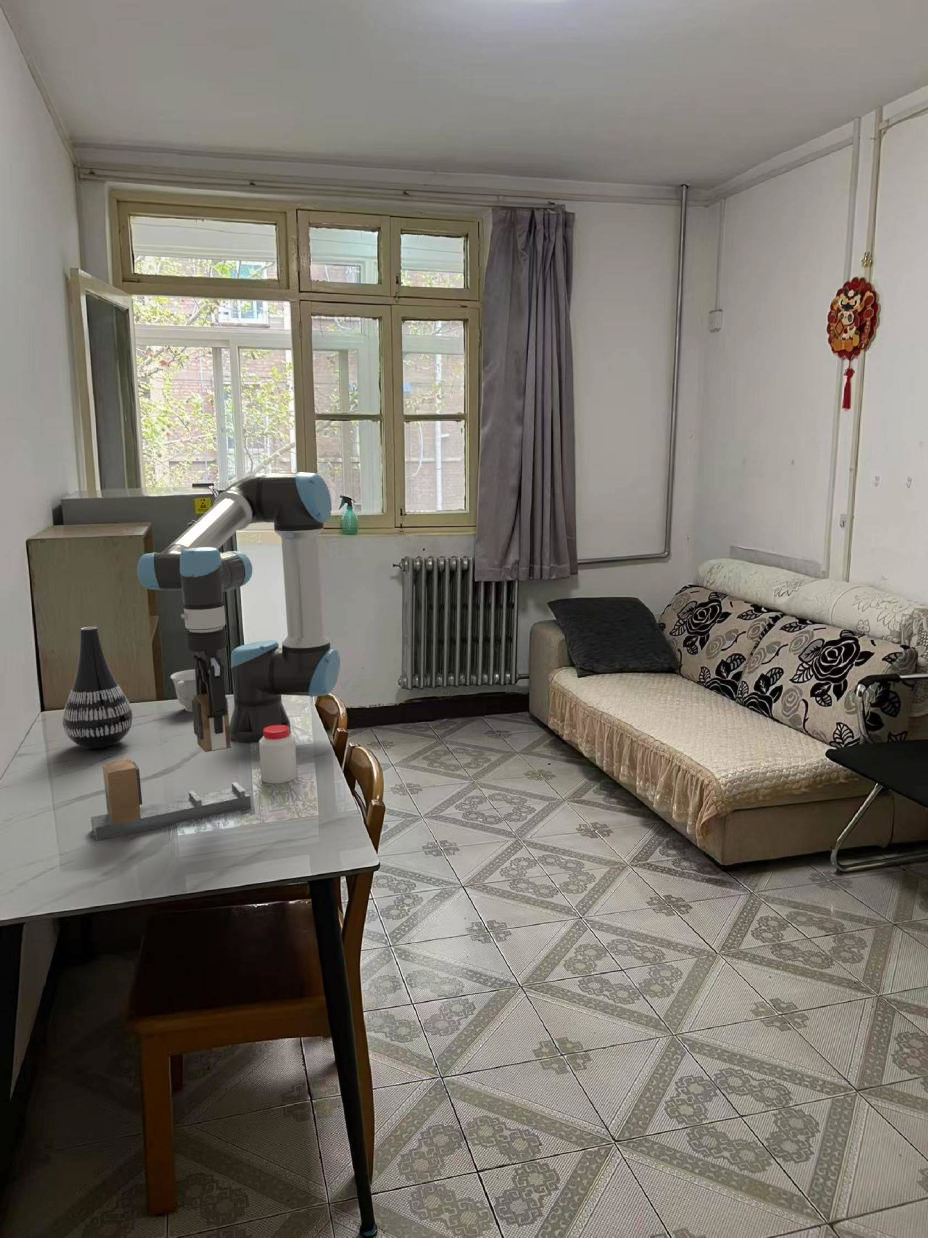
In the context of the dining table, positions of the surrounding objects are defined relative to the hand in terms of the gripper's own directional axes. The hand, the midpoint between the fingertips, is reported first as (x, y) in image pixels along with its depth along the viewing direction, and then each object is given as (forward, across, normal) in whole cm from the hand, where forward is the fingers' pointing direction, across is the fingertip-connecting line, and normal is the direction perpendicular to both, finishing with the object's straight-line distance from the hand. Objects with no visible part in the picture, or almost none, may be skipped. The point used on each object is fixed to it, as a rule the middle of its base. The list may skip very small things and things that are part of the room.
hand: (214, 743), depth 181 cm
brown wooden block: (0, 0, 0) cm, 0 cm away
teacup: (+13, -76, +13) cm, 78 cm away
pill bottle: (+14, -11, +16) cm, 24 cm away
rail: (+13, 0, -9) cm, 16 cm away
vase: (+14, -57, -14) cm, 60 cm away
